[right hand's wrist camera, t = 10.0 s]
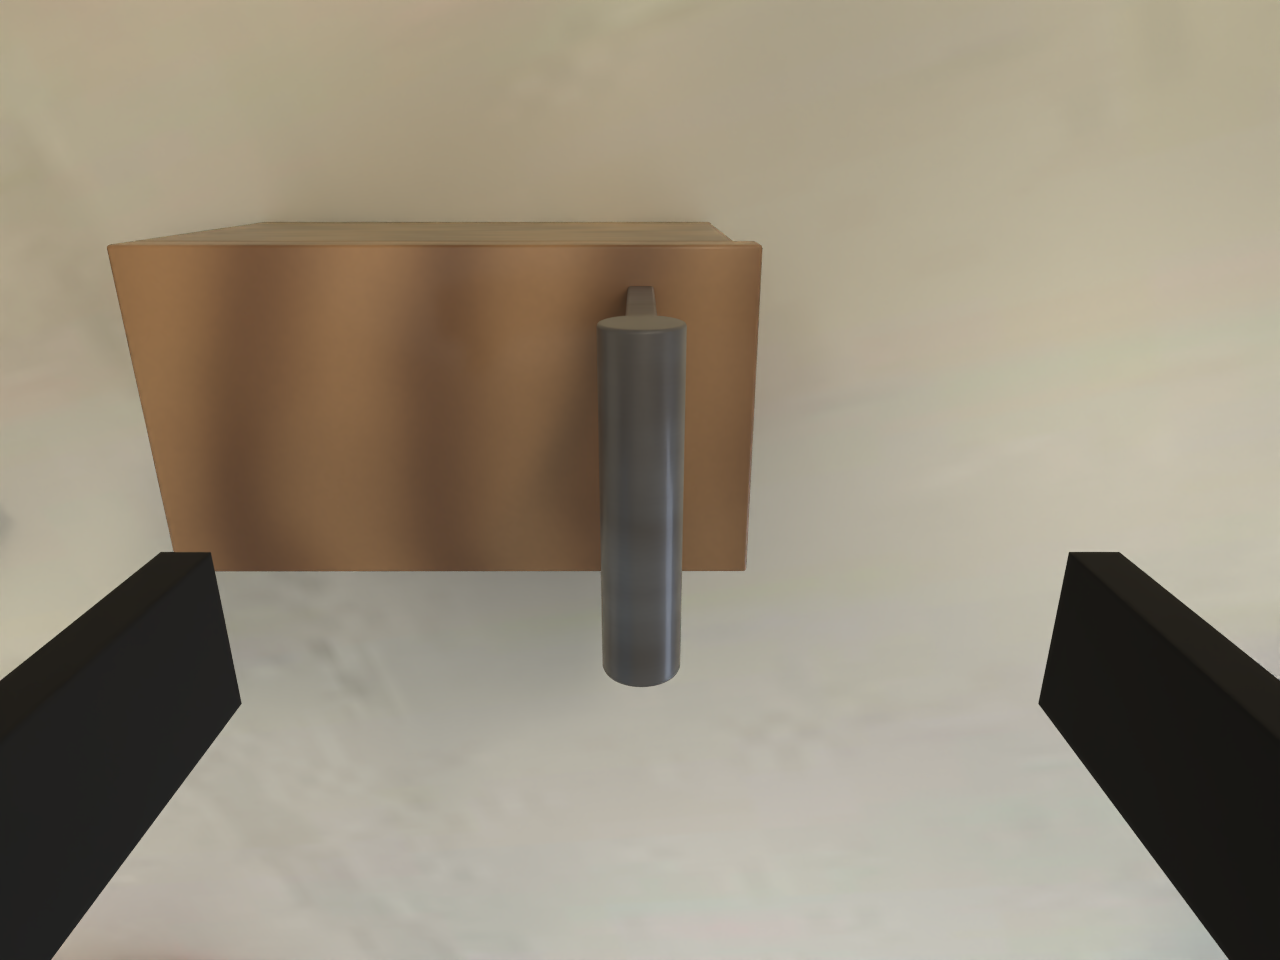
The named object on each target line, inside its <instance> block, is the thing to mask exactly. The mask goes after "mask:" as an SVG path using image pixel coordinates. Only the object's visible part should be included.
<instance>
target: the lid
mask: <svg viewBox="0 0 1280 960" xmlns="http://www.w3.org/2000/svg"><path fill="white" fill-rule="evenodd" d="M107 250H108V255H109V259H110V264H111V269H112V273H113V278H114V282H115V287H116V291H117V296H118V300H119V305H120V309H121V314H122V319H123V323H124V328H125V332H126V337H127V341H128V346H129V350H130V355H131V360H132V364H133V369H134V373H135V378H136V382H137V387H138V391H139V396H140V400H141V405H142V410H143V414H144V419H145V423H146V428H147V432H148V437H149V441H150V446H151V451H152V455H153V460H154V464H155V469H156V473H157V478H158V482H159V487H160V491H161V496H162V501H163V505H164V510H165V514H166V519H167V523H168V528H169V532H170V537H171V541H172V546H173V551H174V552H211V555H212V560H213V565H214V570H215V571H601V599H602V653H603V668H604V670H605V672H606V674H607V675H608V676H609V677H610V678H611V679H613V680H614V681H616V682H618V683H621V684H624V685H628V686H634V687H649V686H655V685H659V684H662V683H664V682H667V681H668V680H670V679H671V678H673V677H674V676H675V675H676V673H677V672H678V670H679V667H680V642H681V592H682V571H745V569H746V562H747V543H748V523H749V503H750V483H751V463H752V443H753V424H754V404H755V384H756V364H757V344H758V325H759V305H760V285H761V265H762V246H761V245H760V244H758V243H757V242H754V241H132V242H125V243H118V244H111V245H108V246H107Z"/></svg>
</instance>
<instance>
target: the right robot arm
mask: <svg viewBox="0 0 1280 960" xmlns="http://www.w3.org/2000/svg"><path fill="white" fill-rule="evenodd" d="M241 704H242V703H241V699H240V694H239V689H238V684H237V679H236V674H235V669H234V664H233V659H232V654H231V649H230V644H229V639H228V634H227V629H226V624H225V619H224V615H223V610H222V605H221V600H220V595H219V590H218V585H217V580H216V575H215V570H214V565H213V560H212V555H211V552H160V553H159V554H158V555H157V556H155V557H154V558H153V559H152V560H150V561H149V562H148V563H147V564H145V565H144V566H143V567H142V568H140V569H139V570H138V571H137V572H135V573H134V574H133V575H132V576H130V577H129V578H128V579H127V580H125V581H124V582H123V583H122V584H120V585H119V586H118V587H117V588H115V589H114V590H113V591H112V592H110V593H109V594H108V595H107V596H105V597H104V598H103V599H102V600H100V601H99V602H98V603H97V604H95V605H94V606H93V607H92V608H90V609H89V610H88V611H87V612H85V613H84V614H83V615H82V616H80V617H79V618H78V619H77V620H75V621H74V622H73V623H72V624H71V625H69V626H68V627H67V628H66V629H64V630H63V631H62V632H61V633H59V634H58V635H57V636H56V637H54V638H53V639H52V640H51V641H49V642H48V643H47V644H46V645H44V646H43V647H42V648H41V649H39V650H38V651H37V652H36V653H34V654H33V655H32V656H31V657H29V658H28V659H27V660H26V661H24V662H23V663H22V664H21V665H19V666H18V667H17V668H16V669H14V670H13V671H12V672H11V673H9V674H8V675H7V676H6V677H4V678H3V679H2V680H1V681H0V960H51V959H52V958H53V956H54V955H55V954H56V952H57V951H58V950H59V948H60V947H61V946H62V944H63V943H64V942H65V940H66V939H67V937H68V936H69V935H70V933H71V932H72V931H73V929H74V928H75V927H76V925H77V924H78V923H79V921H80V920H81V919H82V917H83V916H84V915H85V913H86V912H87V911H88V909H89V908H90V907H91V905H92V904H93V903H94V901H95V900H96V899H97V897H98V896H99V894H100V893H101V892H102V890H103V889H104V888H105V886H106V885H107V884H108V882H109V881H110V880H111V878H112V877H113V876H114V874H115V873H116V872H117V870H118V869H119V868H120V866H121V865H122V864H123V862H124V861H125V860H126V858H127V857H128V856H129V854H130V853H131V851H132V850H133V849H134V847H135V846H136V845H137V843H138V842H139V841H140V839H141V838H142V837H143V835H144V834H145V833H146V831H147V830H148V829H149V827H150V826H151V825H152V823H153V822H154V821H155V819H156V818H157V817H158V815H159V814H160V813H161V811H162V810H163V808H164V807H165V806H166V804H167V803H168V802H169V800H170V799H171V798H172V796H173V795H174V794H175V792H176V791H177V790H178V788H179V787H180V786H181V784H182V783H183V782H184V780H185V779H186V778H187V776H188V775H189V774H190V772H191V771H192V770H193V768H194V767H195V765H196V764H197V763H198V761H199V760H200V759H201V757H202V756H203V755H204V753H205V752H206V751H207V749H208V748H209V747H210V745H211V744H212V743H213V741H214V740H215V739H216V737H217V736H218V735H219V733H220V732H221V731H222V729H223V728H224V727H225V725H226V724H227V722H228V721H229V720H230V718H231V717H232V716H233V714H234V713H235V712H236V710H237V709H238V708H239V706H240V705H241ZM1038 704H1039V705H1040V706H1041V708H1042V709H1043V710H1044V712H1045V713H1046V714H1047V716H1048V717H1049V718H1050V720H1051V721H1052V722H1053V724H1054V725H1055V727H1056V728H1057V729H1058V731H1059V732H1060V733H1061V735H1062V736H1063V737H1064V739H1065V740H1066V741H1067V743H1068V744H1069V745H1070V747H1071V748H1072V749H1073V751H1074V752H1075V753H1076V755H1077V756H1078V757H1079V759H1080V760H1081V761H1082V763H1083V764H1084V765H1085V767H1086V768H1087V770H1088V771H1089V772H1090V774H1091V775H1092V776H1093V778H1094V779H1095V780H1096V782H1097V783H1098V784H1099V786H1100V787H1101V788H1102V790H1103V791H1104V792H1105V794H1106V795H1107V796H1108V798H1109V799H1110V800H1111V802H1112V803H1113V804H1114V806H1115V807H1116V808H1117V810H1118V811H1119V813H1120V814H1121V815H1122V817H1123V818H1124V819H1125V821H1126V822H1127V823H1128V825H1129V826H1130V827H1131V829H1132V830H1133V831H1134V833H1135V834H1136V835H1137V837H1138V838H1139V839H1140V841H1141V842H1142V843H1143V845H1144V846H1145V847H1146V849H1147V850H1148V851H1149V853H1150V854H1151V856H1152V857H1153V858H1154V860H1155V861H1156V862H1157V864H1158V865H1159V866H1160V868H1161V869H1162V870H1163V872H1164V873H1165V874H1166V876H1167V877H1168V878H1169V880H1170V881H1171V882H1172V884H1173V885H1174V886H1175V888H1176V889H1177V890H1178V892H1179V893H1180V894H1181V896H1182V897H1183V899H1184V900H1185V901H1186V903H1187V904H1188V905H1189V907H1190V908H1191V909H1192V911H1193V912H1194V913H1195V915H1196V916H1197V917H1198V919H1199V920H1200V921H1201V923H1202V924H1203V925H1204V927H1205V928H1206V929H1207V931H1208V932H1209V933H1210V935H1211V936H1212V937H1213V939H1214V940H1215V942H1216V943H1217V944H1218V946H1219V947H1220V948H1221V950H1222V951H1223V952H1224V954H1225V955H1226V956H1227V958H1228V959H1229V960H1280V681H1279V680H1278V679H1277V678H1276V677H1274V676H1273V675H1272V674H1271V673H1269V672H1268V671H1267V670H1266V669H1264V668H1263V667H1262V666H1261V665H1259V664H1258V663H1257V662H1256V661H1254V660H1253V659H1252V658H1251V657H1249V656H1248V655H1247V654H1246V653H1244V652H1243V651H1242V650H1241V649H1239V648H1238V647H1237V646H1236V645H1234V644H1233V643H1232V642H1231V641H1229V640H1228V639H1227V638H1226V637H1224V636H1223V635H1222V634H1221V633H1219V632H1218V631H1217V630H1216V629H1214V628H1213V627H1212V626H1211V625H1209V624H1208V623H1207V622H1206V621H1205V620H1203V619H1202V618H1201V617H1200V616H1198V615H1197V614H1196V613H1195V612H1193V611H1192V610H1191V609H1190V608H1188V607H1187V606H1186V605H1185V604H1183V603H1182V602H1181V601H1180V600H1178V599H1177V598H1176V597H1175V596H1173V595H1172V594H1171V593H1170V592H1168V591H1167V590H1166V589H1165V588H1163V587H1162V586H1161V585H1160V584H1158V583H1157V582H1156V581H1155V580H1153V579H1152V578H1151V577H1150V576H1148V575H1147V574H1146V573H1145V572H1143V571H1142V570H1141V569H1140V568H1138V567H1137V566H1136V565H1135V564H1133V563H1132V562H1131V561H1130V560H1128V559H1127V558H1126V557H1125V556H1123V555H1122V554H1121V553H1120V552H1069V555H1068V560H1067V565H1066V570H1065V575H1064V580H1063V585H1062V590H1061V595H1060V600H1059V605H1058V610H1057V615H1056V619H1055V624H1054V629H1053V634H1052V639H1051V644H1050V649H1049V654H1048V659H1047V664H1046V669H1045V674H1044V679H1043V684H1042V689H1041V694H1040V699H1039V703H1038Z"/></svg>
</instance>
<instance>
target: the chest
mask: <svg viewBox="0 0 1280 960" xmlns="http://www.w3.org/2000/svg"><path fill="white" fill-rule="evenodd" d="M138 241H732V240H731V239H730V238H728V237H727V236H726V235H724V234H723V233H722V232H720V231H719V230H718V229H717V228H715V227H714V226H713V225H711V223H709V222H262V223H256V224H249V225H242V226H235V227H228V228H221V229H214V230H207V231H201V232H194V233H187V234H180V235H173V236H166V237H159V238H152V239H145V240H138Z"/></svg>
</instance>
